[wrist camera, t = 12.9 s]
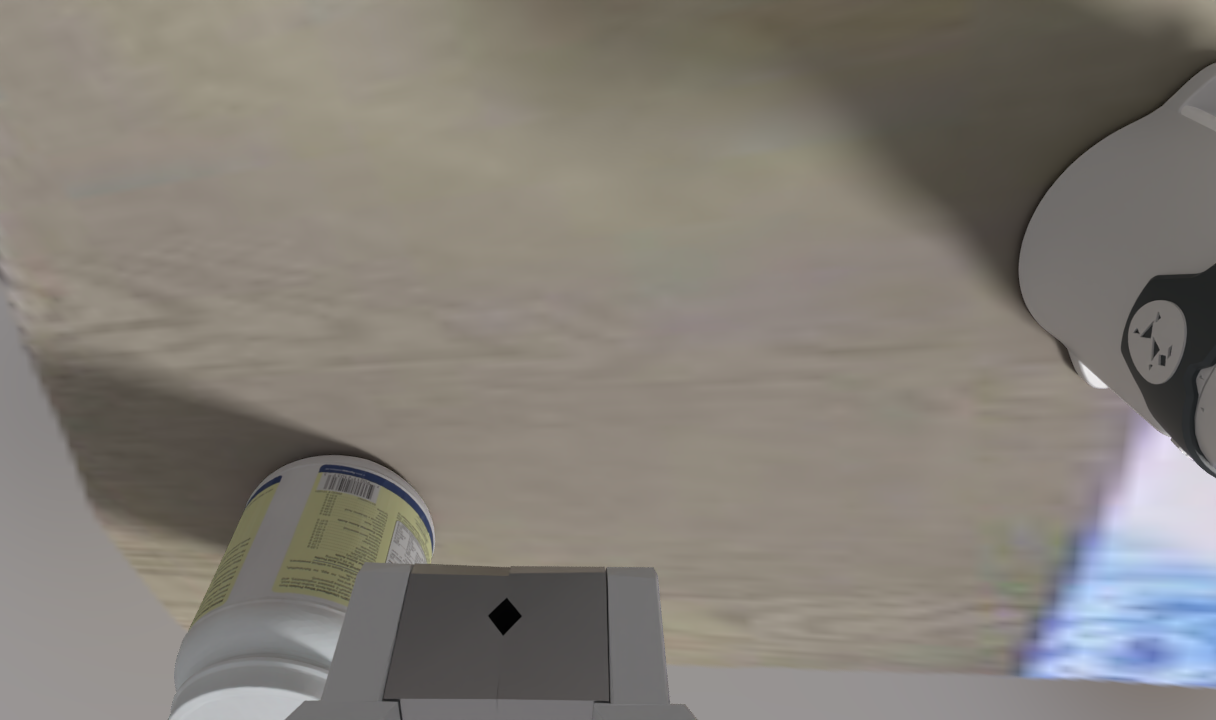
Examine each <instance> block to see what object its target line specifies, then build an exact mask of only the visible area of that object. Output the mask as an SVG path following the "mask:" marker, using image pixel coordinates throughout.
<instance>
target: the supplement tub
mask: <svg viewBox="0 0 1216 720" xmlns="http://www.w3.org/2000/svg"><path fill="white" fill-rule="evenodd" d="M434 548H435V535H434V526H433V522H432V518H431V515H430V513H429V510H428V508H427V506H426V504H425V503H424V501H423V500H422V498H421V497H420V495H419V494H418V493H417V492H416V490H415V489H414V488H413V487H412V486H411V485H410V484H409V483H407V482H406V481H405V480H404V479H403V478H401V477H400V476H399V475H397V474H396V473H394V472H393V471H391V470H389V469H388V468H386V467H384V466H382V465H379V464H377V463H375V462H372V461H370V460H367V459H363V458H358V457H352V456H343V455H324V456H314V457H309V458H305V459H301V460H297V461H295V462H292V463H290V464H287V465H285V466H283V467H281V468H279V469H278V470H276V471H275V472H273V473H272V474H270V475H269V476H268V477H267V478H265V479H264V480H263V481H262V482H261V483H260V484H259V486H258V487H257V488H256V489H255V490H254V492H253V493H252V495H251V496H250V498H249V500H248V502H247V504H246V507H245V509H244V511H243V514H242V517H241V519H240V521H239V523H238V526H237V528H236V530H235V532H234V534H233V537H232V539H231V541H230V543H229V545H228V547H227V550H226V552H225V554H224V556H223V558H222V560H221V563H220V565H219V567H218V569H217V571H216V573H215V576H214V578H213V580H212V582H211V584H210V586H209V588H208V590H207V593H206V595H205V597H204V599H203V601H202V603H201V605H200V607H199V610H198V612H197V614H196V616H195V618H194V620H193V622H192V624H191V626H190V628H189V630H188V632H187V634H186V635H185V637H184V639H183V641H182V644H181V647H180V650H179V653H178V655H177V659H176V663H175V672H174V679H175V688H176V694H175V696H174V700H173V702H172V706H171V714H170V716H169V718H168V720H285V719H286V718H287V717H288V716H289V715H290V714H291V713H292V712H293V711H294V710H295V709H296V708H297V707H299V706H300V705H301V704H302V703H303V702H304V701H311V700H321V697H322V693H323V690H324V686H325V683H326V680H327V676H328V673H329V669H330V666H331V662H332V659H333V655H334V652H335V649H336V645H337V642H338V638H339V635H340V631H341V628H342V624H343V621H344V618H345V614H346V611H347V607H348V604H349V600H350V597H351V593H352V590H353V587H354V583H355V580H356V576H357V574H358V572H359V571H360V569H361V568H362V566H363V565H364V563H365V562H373V563H398V564H415V563H419V564H431V559H432V556H433V552H434Z"/></svg>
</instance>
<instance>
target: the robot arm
mask: <svg viewBox="0 0 1216 720" xmlns="http://www.w3.org/2000/svg"><path fill="white" fill-rule="evenodd" d="M1019 282H1020V288H1021V292H1022V296H1023V299H1024V301H1025V304H1026V306H1027V308H1028V310H1029V311H1030V313H1031V314H1032V316H1033V317H1034V319H1035V320H1036V321H1037V322H1038V323H1039V324H1040V325H1041V326H1042V327H1043V328H1044V329H1045V330H1046V331H1047V332H1049V333H1050V334H1051V335H1053V336H1054V337H1055V338H1057V339H1058V340H1059V341H1060V342H1062V343H1063V344H1064V345H1065V347H1066V348H1067V349H1068V352H1069V355H1070V358H1071V361H1072V363H1073V366H1074V368H1075V370H1076V372H1077V373H1078V375H1079V376H1080V377H1081V378H1082V379H1083V380H1084V381H1085V382H1086V383H1088V384H1089V385H1090V386H1092V387H1094V388H1099V389H1102V388H1110V389H1111V390H1112V391H1113V392H1114V393H1115V394H1117V395H1118V396H1119V397H1120V398H1121V399H1122V400H1123V401H1124V402H1125V403H1127V404H1128V405H1129V406H1130V407H1131V408H1132V409H1133V410H1135V411H1136V412H1137V413H1138V414H1139V415H1140V416H1141V417H1143V418H1144V419H1145V420H1146V421H1147V422H1148V423H1149V424H1151V425H1152V426H1153V427H1154V428H1155V429H1156V430H1158V431H1159V432H1160V433H1162V434H1164V435H1166V436H1168V437H1171V441H1172V442H1173V443H1174V444H1175V445H1176V446H1177V447H1178V448H1179V450H1181V451H1182V452H1183V453H1184V454H1185V455H1186V456H1187V457H1188V458H1190V459H1191V460H1192V461H1195V462H1196V463H1197V464H1198V465H1199V466H1200V467H1201V468H1202V469H1203V470H1205V471H1206V472H1207V473H1208V474H1210V475H1212V476H1213V477H1215V478H1216V63H1213V64H1211V65H1209V66H1207V67H1206V68H1204V69H1203V70H1201V71H1200V72H1199V73H1197V74H1196V75H1195V76H1194V77H1192V78H1191V79H1190V80H1189V81H1188V82H1187V83H1186V84H1184V85H1183V86H1182V87H1181V88H1180V89H1179V90H1178V91H1177V92H1176V93H1175V94H1174V95H1173V96H1172V97H1171V98H1170V99H1169V100H1168V101H1167V102H1166V103H1165V104H1164V105H1163V106H1161V107H1160V108H1158V109H1157V110H1155V111H1154V112H1152V113H1150V114H1149V115H1147V116H1145V117H1143V118H1141V119H1139V120H1137V121H1135V122H1133V123H1131V124H1129V125H1127V126H1125V127H1123V128H1121V129H1120V130H1118V131H1116V132H1114V133H1113V134H1111V135H1109V136H1108V137H1106V138H1104V139H1103V140H1101V141H1100V142H1098V143H1097V144H1096V145H1094V146H1093V147H1091V148H1090V149H1089V150H1088V151H1086V152H1085V153H1084V154H1083V155H1081V156H1080V157H1079V158H1078V159H1077V160H1076V161H1075V162H1073V163H1072V164H1071V165H1070V166H1069V167H1068V168H1067V169H1066V170H1065V171H1064V172H1063V173H1062V174H1061V176H1060V177H1059V178H1058V179H1057V180H1056V181H1055V183H1054V184H1053V185H1052V186H1051V188H1050V189H1049V190H1048V192H1047V193H1046V194H1045V196H1044V197H1043V199H1042V200H1041V202H1040V204H1039V205H1038V207H1037V209H1036V210H1035V212H1034V214H1033V216H1032V218H1031V220H1030V223H1029V225H1028V227H1027V230H1026V233H1025V236H1024V239H1023V242H1022V247H1021V251H1020V258H1019ZM285 720H697V719H696V717H695V716H694V715H693V714H692V712H691V711H690V710H689V709H688V707H687V706H686V705H685V704H670V699H669V688H668V678H667V667H666V657H665V646H664V635H663V625H662V614H661V604H660V593H659V583H658V575H657V573H656V571H655V569H654V567H607V568H606V570H605V567H552V566H511V567H491V566H467V565H443V564H419V563H415V564H398V563H373V562H365V563H364V565H363V566H362V568H361V569H360V571H359V572H358V574H357V576H356V580H355V583H354V587H353V590H352V593H351V597H350V600H349V604H348V607H347V611H346V614H345V618H344V621H343V624H342V628H341V631H340V635H339V638H338V642H337V645H336V649H335V652H334V655H333V659H332V662H331V666H330V669H329V673H328V676H327V680H326V683H325V686H324V690H323V693H322V697H321V700H311V701H304V702H303V703H302V704H301V705H300V706H299V707H297V708H296V709H295V710H294V711H293V712H292V713H291V714H290V715H289V716H288V717H287V718H286V719H285Z"/></svg>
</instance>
